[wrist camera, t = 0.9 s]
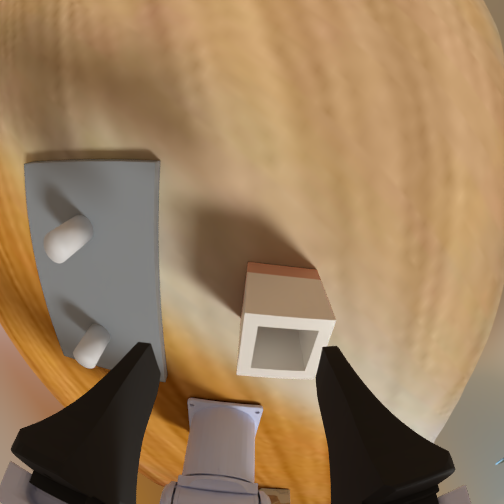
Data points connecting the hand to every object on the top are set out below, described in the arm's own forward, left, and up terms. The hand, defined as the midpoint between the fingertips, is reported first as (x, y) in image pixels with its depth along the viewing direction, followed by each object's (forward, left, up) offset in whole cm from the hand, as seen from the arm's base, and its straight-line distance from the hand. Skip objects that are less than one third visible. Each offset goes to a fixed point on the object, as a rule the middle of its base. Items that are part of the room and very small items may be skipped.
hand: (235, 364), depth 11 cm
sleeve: (-2, -3, -10) cm, 10 cm away
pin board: (-3, +12, -10) cm, 16 cm away
